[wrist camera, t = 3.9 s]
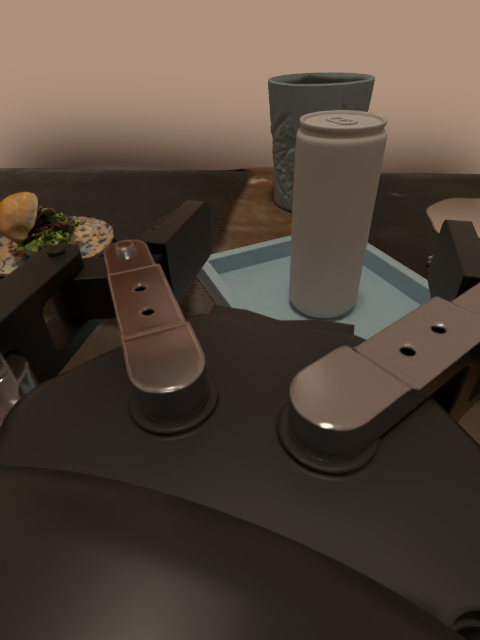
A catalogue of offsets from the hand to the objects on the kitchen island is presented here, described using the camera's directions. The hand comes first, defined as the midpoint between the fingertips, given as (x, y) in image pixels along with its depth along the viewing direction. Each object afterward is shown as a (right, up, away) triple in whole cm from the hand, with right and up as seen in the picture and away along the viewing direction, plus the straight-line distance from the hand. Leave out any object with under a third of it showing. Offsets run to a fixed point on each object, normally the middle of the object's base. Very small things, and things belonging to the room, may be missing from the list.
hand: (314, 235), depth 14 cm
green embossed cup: (+5, +11, +31) cm, 33 cm away
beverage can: (+3, -2, +14) cm, 15 cm away
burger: (-20, +2, +22) cm, 29 cm away
